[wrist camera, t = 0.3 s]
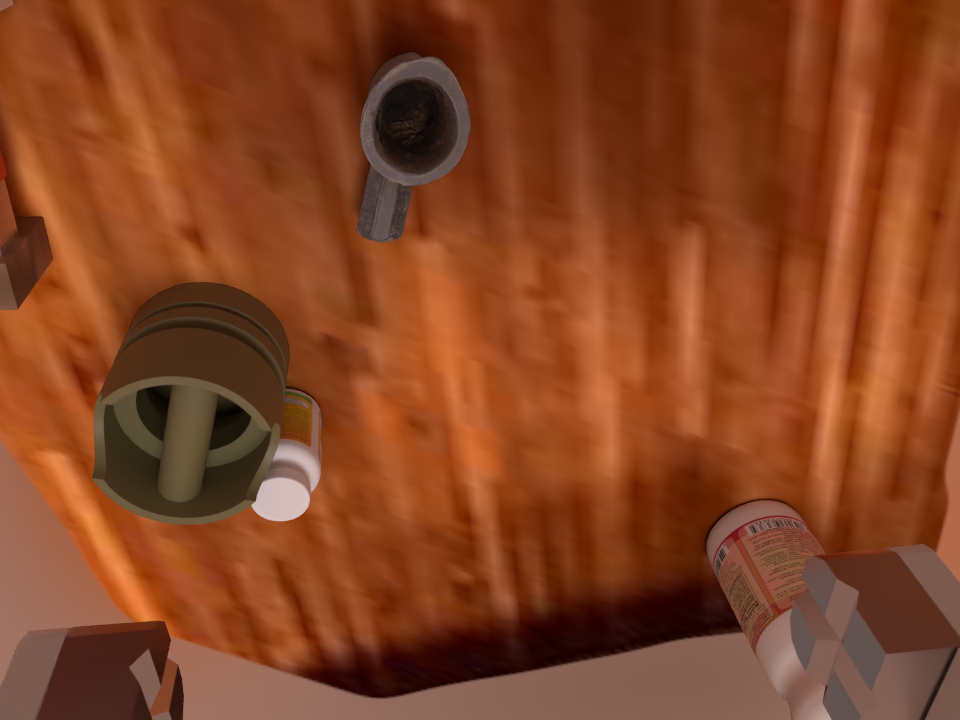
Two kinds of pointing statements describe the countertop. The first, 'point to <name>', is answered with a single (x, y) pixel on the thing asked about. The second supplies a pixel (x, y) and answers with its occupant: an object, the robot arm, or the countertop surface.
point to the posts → (24, 262)
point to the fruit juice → (768, 592)
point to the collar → (5, 4)
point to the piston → (192, 406)
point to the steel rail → (6, 214)
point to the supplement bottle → (293, 461)
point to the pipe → (408, 138)
